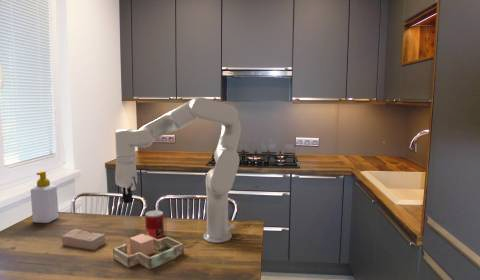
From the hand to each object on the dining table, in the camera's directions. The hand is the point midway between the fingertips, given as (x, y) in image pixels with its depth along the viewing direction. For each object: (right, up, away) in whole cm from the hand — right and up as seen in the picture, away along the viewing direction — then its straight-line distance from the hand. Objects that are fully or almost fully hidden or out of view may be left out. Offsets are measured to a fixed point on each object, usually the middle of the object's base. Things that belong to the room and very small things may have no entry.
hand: (127, 202), depth 150 cm
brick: (-20, -19, +4) cm, 28 cm away
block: (+7, -20, -4) cm, 22 cm away
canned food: (+9, -18, +12) cm, 23 cm away
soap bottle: (-51, -15, +32) cm, 62 cm away
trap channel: (+11, -20, -7) cm, 24 cm away
